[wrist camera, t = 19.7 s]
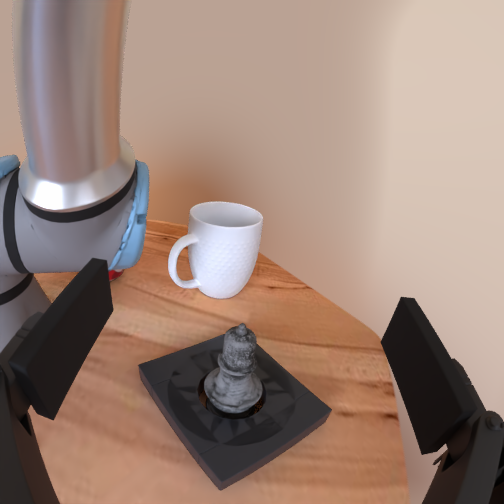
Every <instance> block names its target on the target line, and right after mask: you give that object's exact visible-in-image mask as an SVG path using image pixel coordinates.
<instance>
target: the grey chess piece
mask: <svg viewBox="0 0 504 504" xmlns="http://www.w3.org/2000/svg"><path fill="white" fill-rule="evenodd" d="M256 343H257V340H256V336H255V334H254V333H253V332H252V331H251V330H250V329H249V328H246V326H245V324H244V323H242V324H240V325H239V326H235V327H232V328H231V329H229V330H228V331H227V332H226V334H225V336H224V344H223V351H222V352H221V353H220V354H219V356H218V364H219V366H220V367H219V368H216V369H214V370H213V371H211V372H210V373H209V374H208V376H207V377H206V379H205V382H204V389H205V392H206V395H207V396H208V399H207V401H206V408H207V410H208V411H210V412H211V413H213V414H215V415H217V416H218V417H221V418H227V419H232V420H236V419H243V418H248V417H250V416H252V415H253V414H254V410H255V403H256V402H258V400H259V399H260V397H261V395H262V390H263V389H262V383H261V381H260V379H259V378H258V377H257V376H256V375H255V374H254V373H253V371H254V369H255V368H256V364H257V362H256V359H255V357H254V353H255V348H256Z"/></svg>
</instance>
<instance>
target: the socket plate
mask: <svg viewBox="0 0 504 504" xmlns="http://www.w3.org/2000/svg"><path fill="white" fill-rule="evenodd" d="M224 336H225V334H223V335H220V336H218V337H215V338H212V339H210V340H207V341H204V342H202V343H199V344H196V345H194V346H191V347H188V348H185V349H183V350H180V351H177V352H174V353H171V354H169V355H166V356H163V357H160V358H157V359H154V360H151V361H148V362H145V363H142V364H139V365H138V366H139V372H140V378H141V380H142V382H143V384H144V385H145V387H146V389H147V390H148V392H149V393H150V395H151V397H152V398H153V400H154V401H155V403H156V405H157V406H158V408H159V409H160V411H161V412H162V414H163V415H164V417H165V418H166V420H167V421H168V423H169V424H170V426H171V427H172V429H173V430H174V432H175V433H176V434H177V436H178V437H179V439H180V440H181V441H182V443H183V444H184V446H185V447H186V448H187V450H188V451H189V452H190V454H191V455H192V456H193V458H194V459H195V460H196V462H197V463H198V464H199V465H200V467H201V468H202V469H203V471H204V472H205V473H206V474H207V476H208V477H209V478H210V479H211V480H212V482H213V483H214V484H215V485H216V487H217V488H218V489H219V490H223V489H224V488H226V487H228V486H230V485H232V484H233V483H235V482H237V481H239V480H240V479H242V478H244V477H246V476H247V475H249V474H251V473H252V472H254V471H255V470H257V469H259V468H260V467H262V466H264V465H265V464H267V463H268V462H270V461H271V460H273V459H274V458H276V457H277V456H279V455H280V454H282V453H283V452H285V451H286V450H288V449H289V448H291V447H292V446H293V445H295V444H296V443H298V442H299V441H301V440H302V439H303V438H305V437H306V436H307V435H309V434H310V433H311V432H313V431H314V430H315V429H317V428H318V427H319V426H321V425H322V424H323V423H325V421H326V420H327V418H328V416H329V414H330V413H331V411H332V409H331V408H329V407H328V406H327V405H326V404H325V403H324V402H322V401H321V400H320V399H319V398H318V397H316V396H315V395H314V394H313V393H312V392H311V391H309V390H308V389H307V388H306V387H305V386H304V385H302V384H301V383H300V382H299V381H298V380H297V379H296V378H294V377H293V376H292V375H291V374H290V373H289V372H288V371H286V370H285V369H284V368H283V367H282V366H281V365H280V364H279V363H277V362H276V361H275V360H274V359H273V358H272V357H271V356H270V355H269V354H267V353H266V352H265V351H264V350H263V349H262V348H261V347H260V346H259V345H258V344H256V348H255V353H254V357H255V359H256V362H257V364H256V368H255V369H254V371H253V373H254V374H255V375H256V376H257V377H258V378H259V379H260V381H261V383H262V389H263V390H262V395H261V397H260V399H261V402H262V404H263V406H262V408H261V409H260V411H259V412H257V413H255V414H254V415H252V416H250V417H248V418H243V419H236V420H232V419H227V418H221V417H218V416H217V415H215V414H213V413H211V412H210V411H208V410H207V409H206V408H205V407H204V406H203V404H202V403H201V402H200V400H199V396H200V393H201V392H202V391H203V390H204V382H205V379H206V377H207V376H208V374H209V373H210V372H211V371H213V370H214V369H216V368H219V367H220V366H219V364H218V356H219V354H220V353H221V352H222V351H223V344H224Z"/></svg>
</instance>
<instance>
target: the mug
mask: <svg viewBox="0 0 504 504" xmlns="http://www.w3.org/2000/svg"><path fill="white" fill-rule="evenodd" d="M262 224H263V216H262V215H261V213H259V212H258V211H256V210H255V209H253V208H251V207H248V206H245V205H241V204H236V203H231V202H206V203H200V204H198V205H195V206H193V207H192V208H191V210H190V213H189V224H188V234H187V235H185V236H183V237H181V238H180V239H178V240H177V241H176V243H175V244H174V245H173V247H172V249H171V251H170V254H169V259H168V269H169V274H170V276H171V278H172V280H173V281H174V282H175V283H176V284H177V285H178V286H180V287H182V288H199V289H200V291H201V292H203V293H204V294H205V295H207V296H209V297H213V298H218V299H225V298H230V297H233V296H235V295H236V294H238V293H239V292H240V291H241V290H242V289H243V287H244V286H245V285H246V283H247V282H248V280H249V278H250V276H251V274H252V272H253V269H254V267H255V264H256V259H257V255H258V251H259V246H260V238H261V231H262ZM186 246H188V256H189V264H190V269H191V273H192V275H193V278H194V279H192V280H189V281H182V280H180V279H179V277H178V275H177V271H176V264H177V259H178V256H179V254H180V252H181V250H182V249H183V248H184V247H186Z"/></svg>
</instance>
